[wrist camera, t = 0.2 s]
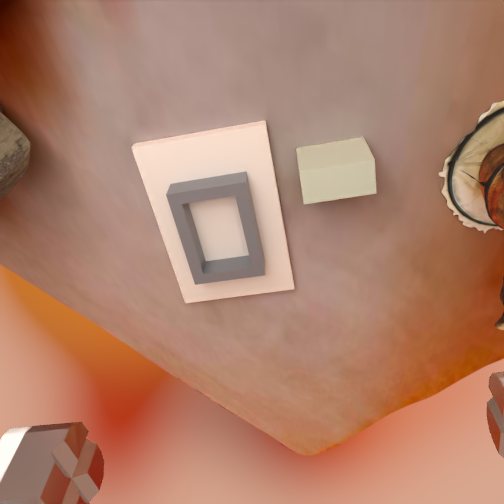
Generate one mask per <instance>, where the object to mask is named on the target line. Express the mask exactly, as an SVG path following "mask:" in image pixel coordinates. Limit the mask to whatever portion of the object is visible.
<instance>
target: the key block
mask: <svg viewBox="0 0 504 504" xmlns="http://www.w3.org/2000/svg"><path fill="white" fill-rule="evenodd" d="M296 152H297V160H298V167H299V174H300V181H301V188H302V195H303V202H304V204H311V203H318V202H324V201H331V200H337V199H344V198H350V197H357V196H363V195H370V194H376V174H375V159H374V157H373V155H372V153H371V151H370V149H369V147H368V145H367V143H366V141H365V139H364V137H359V138H353V139H347V140H341V141H335V142H329V143H324V144H318V145H312V146H306V147H300V148H296Z"/></svg>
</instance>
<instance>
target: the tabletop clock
mask: <svg viewBox="0 0 504 504" xmlns="http://www.w3.org/2000/svg"><path fill="white" fill-rule="evenodd" d="M30 146H31V143H30V142H29V140H28V139H27V137H26V136H25V135H24V134H23V133H22V132H21V131H20V130H19V129H18V128H17V127H16V126H15V125H14V124H13V123H12V122H11V121H10V120H9V119H8V118H7V117H5V116H4V115H3V114H2V106H1V105H0V201H1V200H2V199H3V197H4V196H5V195H6V194H7V193H8V192H9V191H10V190H11V189H12V188H13V187H14V186H15V185H16V183H17V182H18V181H19V180H20V178H21V177H22V176H23V175H24V173H25V172H26V170H27V168H28V166H29V161H30Z"/></svg>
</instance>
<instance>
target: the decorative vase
mask: <svg viewBox="0 0 504 504" xmlns="http://www.w3.org/2000/svg"><path fill="white" fill-rule="evenodd" d="M439 176H441V177H445V183H444V187H443V189H442V191H441V193H442V194H443V195H444V196H445V198H446V199H447V201H448V202H447V206H448V207H449V208H450V209H451V210H453V211H454V214H453V215H458V216H459V220H460V221H464V222H463V225H465V226H467V227H470V228H471V227H475V228H477V230H478V231H480V230H483V231H484V233H486V232H487V230H489V229H491V228H495V230H496V229H499V230H501V231H502V230H504V100H503V101H501V102H497V103H492V106H491V109H490V111H488V112H485V113H483V114H482V115H481V116H480V118H479V122H478V125H477V127H476V129H475V131H474V132H472V133H471V134H469V135H467V136H466V137H465V138H464V139H463V140H462V141H461V142H460V143H459V145H458V147H457V148H456V149H455V150H454V151H453V153H452V155H451V156H449V157H448V158H446V159H445V163H444V168H443V172H439ZM500 299H501V300H502V303H503V304H504V277H503V286H502V290H501V293H500ZM495 327H496V328H498V329H499V330H502V331H504V313H503V315H502V317H501V318H500V319H499V320H498V322H497V323H496V324H495Z"/></svg>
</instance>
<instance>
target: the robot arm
mask: <svg viewBox="0 0 504 504" xmlns="http://www.w3.org/2000/svg"><path fill="white" fill-rule="evenodd" d="M489 389H490V391H491V393H492V395H493V398H492V399H490V400H489V401H488V402H487V420H488V425H489V430H490V433H491V436H492V439H493V442H494V444H495V446H496V449H497V451H498V453H499V454H500V455H501V456H502V457H504V372H498V373H492V375H491V376H490V379H489ZM87 435H88V430H87V429H86V427H85V426H84V425H83V423H82V422H75V423H64V424H52V425H40V426H29V427H20V428H11V429H10V430H9V431H8V432H7V433H5V434H4V435H3V436H2V438H1V440H0V504H90V503H89V501H90V500H91V499H92V498H93V497H94V496H95V495H96V494H97V492H98V491H99V490H100V487H101V483H102V480H103V476H104V459H103V455H102V452H101V450H100V448H99V447H98V445H97V444H95V443H93V442H91V441H90V440H88V439H86V437H87Z"/></svg>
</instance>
